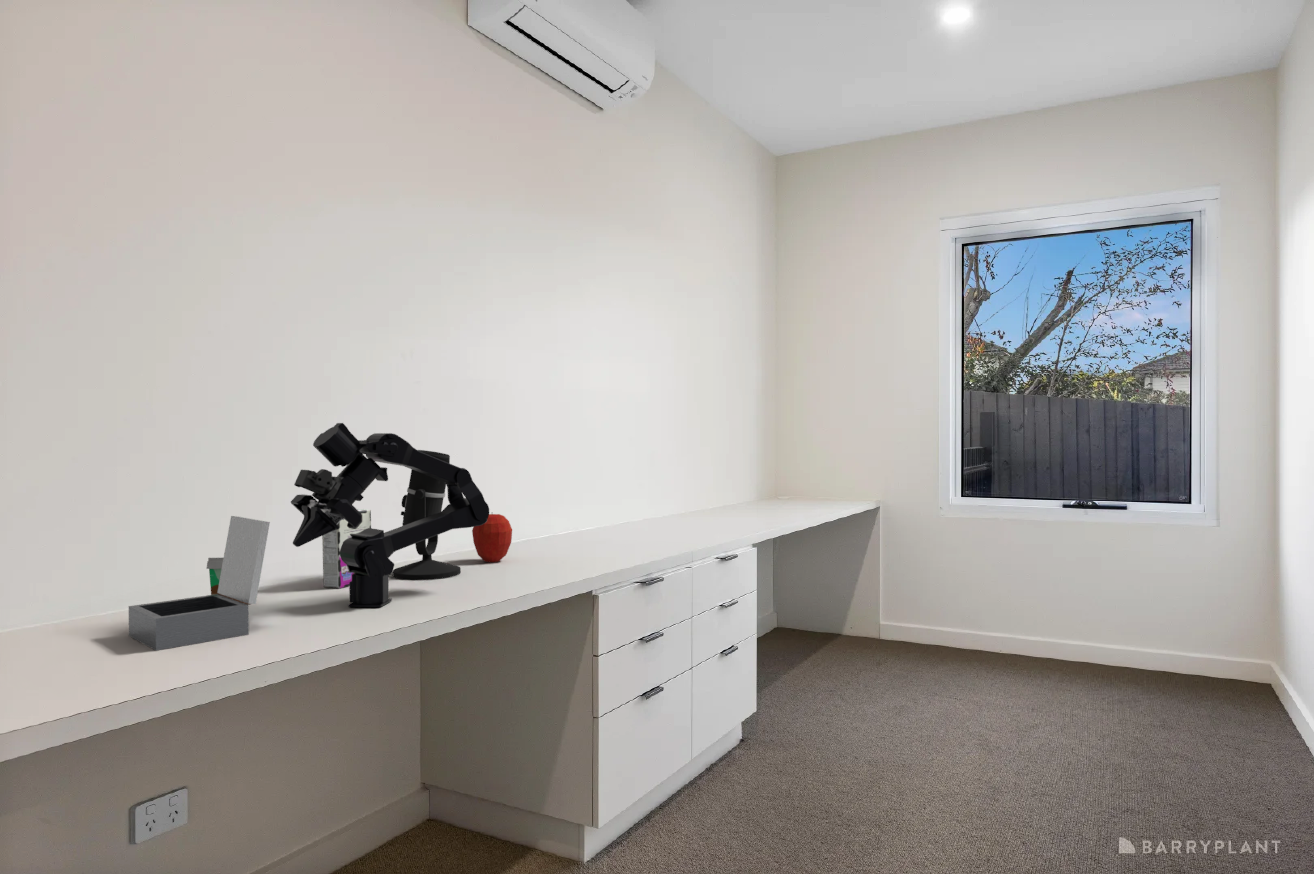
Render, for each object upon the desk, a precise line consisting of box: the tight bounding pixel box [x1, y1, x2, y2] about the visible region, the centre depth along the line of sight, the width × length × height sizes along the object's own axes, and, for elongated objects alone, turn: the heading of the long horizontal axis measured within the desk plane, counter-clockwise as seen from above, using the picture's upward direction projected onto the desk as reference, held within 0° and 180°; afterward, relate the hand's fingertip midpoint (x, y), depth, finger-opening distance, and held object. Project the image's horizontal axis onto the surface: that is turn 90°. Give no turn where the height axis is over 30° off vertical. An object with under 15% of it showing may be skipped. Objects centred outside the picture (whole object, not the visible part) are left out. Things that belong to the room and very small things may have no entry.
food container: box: [206, 557, 251, 606], centre depth 165 cm, size 12×6×10 cm, turn 168°
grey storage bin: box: [128, 594, 250, 652], centre depth 139 cm, size 14×14×5 cm
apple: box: [471, 513, 513, 564], centre depth 218 cm, size 10×10×14 cm
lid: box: [217, 515, 271, 605], centre depth 146 cm, size 14×14×3 cm
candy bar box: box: [321, 508, 372, 589], centre depth 186 cm, size 11×5×16 cm, turn 161°
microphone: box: [392, 449, 462, 581], centre depth 199 cm, size 16×16×30 cm
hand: (295, 545), depth 153 cm, fingers closed
